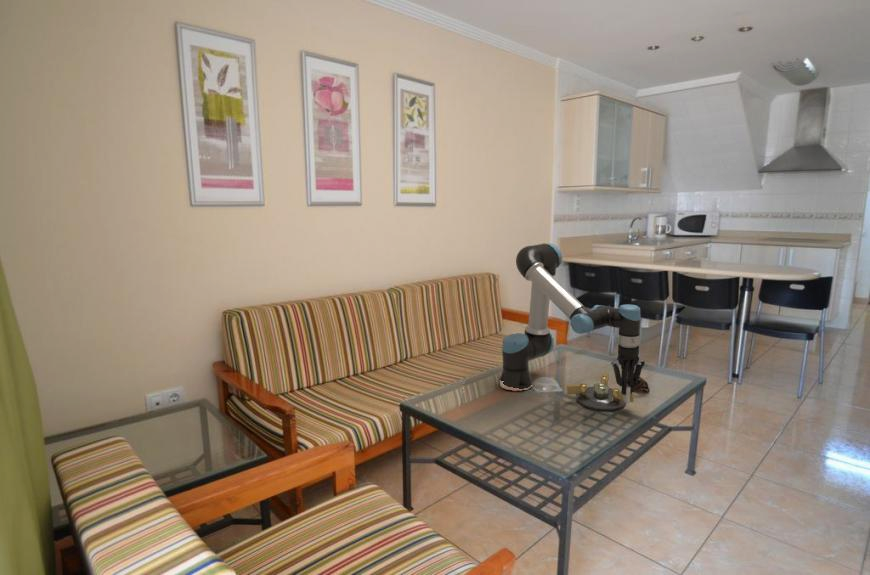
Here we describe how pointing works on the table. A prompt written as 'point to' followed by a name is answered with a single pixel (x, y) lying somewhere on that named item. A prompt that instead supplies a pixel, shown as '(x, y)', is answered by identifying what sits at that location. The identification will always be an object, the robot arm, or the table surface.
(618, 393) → the knob
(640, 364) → the robot arm
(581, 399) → the tribrach
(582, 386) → the knob
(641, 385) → the brown animal skull
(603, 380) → the knob
